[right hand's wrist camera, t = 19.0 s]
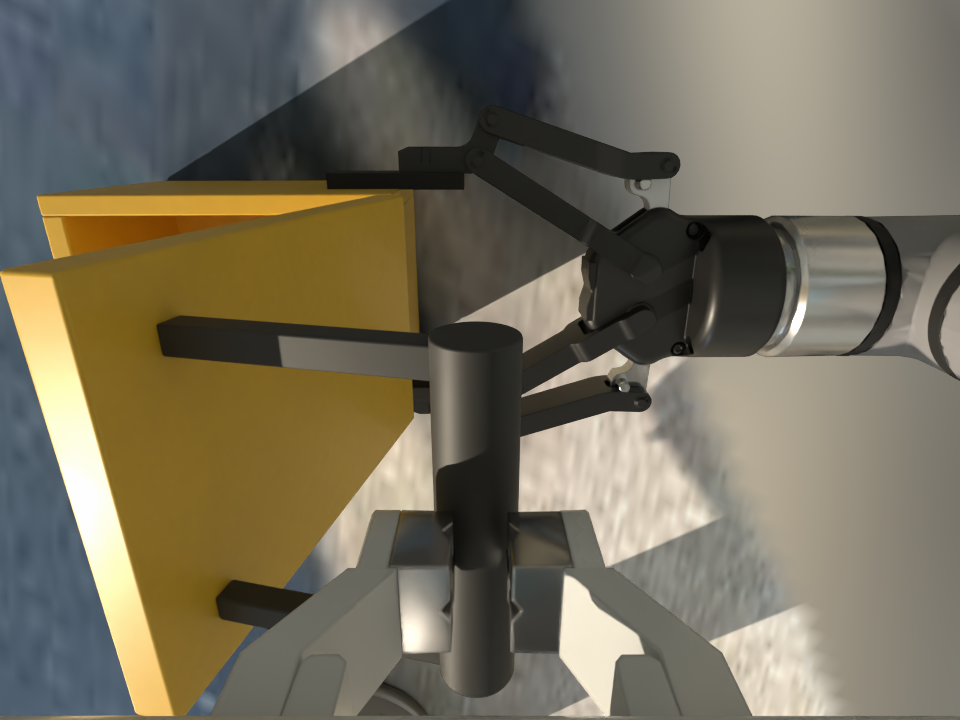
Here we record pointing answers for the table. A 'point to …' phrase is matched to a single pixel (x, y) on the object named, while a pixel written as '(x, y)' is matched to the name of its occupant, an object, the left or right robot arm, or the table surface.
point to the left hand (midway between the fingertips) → (342, 289)
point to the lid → (261, 429)
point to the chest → (196, 214)
